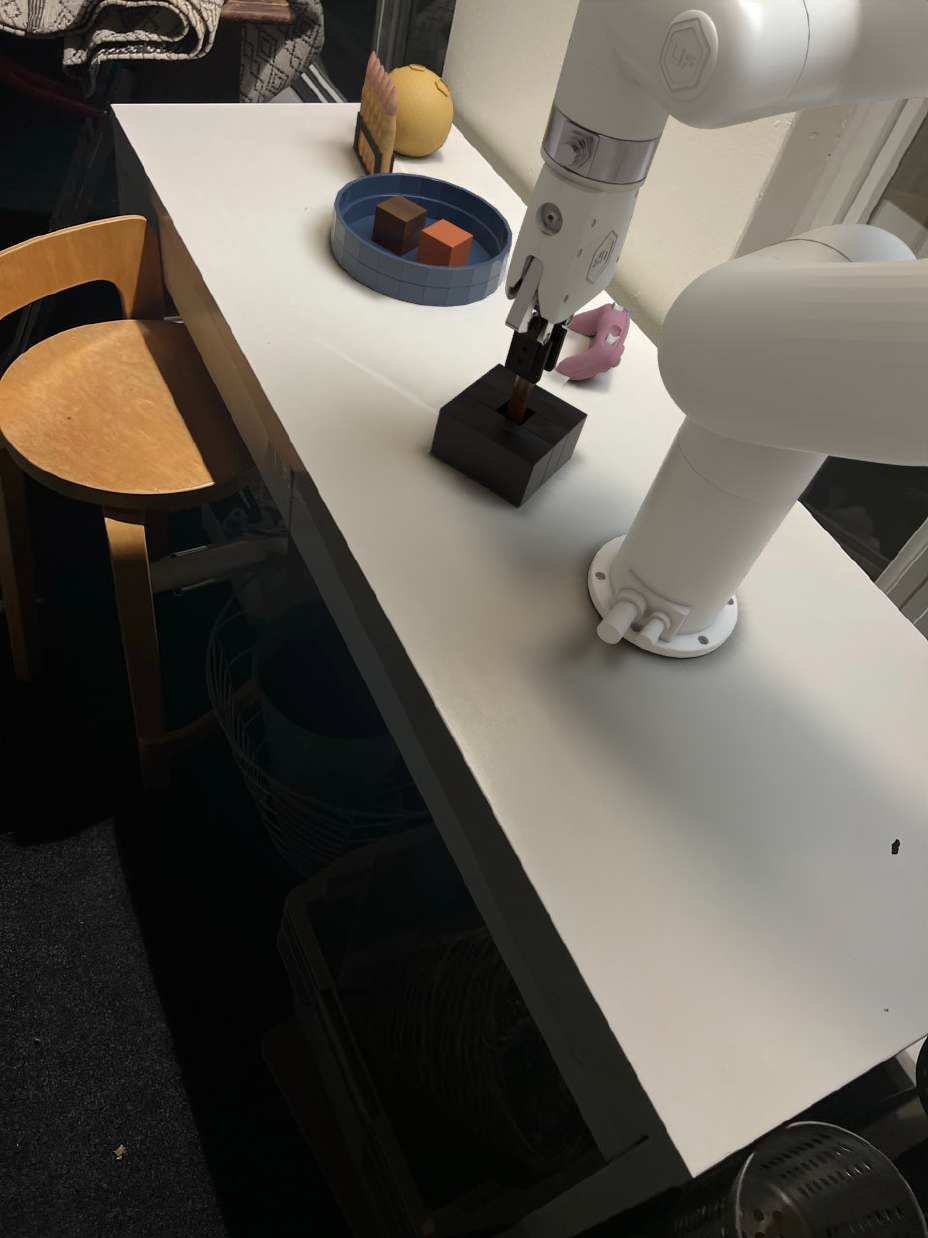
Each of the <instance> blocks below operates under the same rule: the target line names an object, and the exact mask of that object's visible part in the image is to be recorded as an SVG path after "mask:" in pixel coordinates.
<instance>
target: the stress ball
mask: <svg viewBox="0 0 928 1238" xmlns="http://www.w3.org/2000/svg"><path fill="white" fill-rule="evenodd" d="M387 74H388V78H389V79H391V80H392V84H393V87H394V86H395V87H396V90H397V113H396V134H395V141H394V148H393V151H394V153H397V154H399V155H402V156H404V157H410V158H420V157H421V158H422V157H425V156H428V155H430V154H432V153H434V152H436V151H439V150H440V149H441V148H442V147H443V146H444V144H445V143H446V142H447V140H448V136H449V134H450V132H451V129H452V126H453V122H454V105H453V100H452V97H451V90H450V86H449V85H448V84H447V82H445V80H443V78H442V77H439V76H438V75H437V74H436V73H435V72H433V71H432V70H430V69H428V68H426V67H425V66H424V65H421V64H415V63H413V64H409V65H407V66H402V67H399V68H398V67H396V68H395V69H392V70H391V71H389V72H387Z"/></svg>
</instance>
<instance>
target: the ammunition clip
mask: <svg viewBox="0 0 928 1238" xmlns="http://www.w3.org/2000/svg"><path fill="white" fill-rule="evenodd" d="M396 113H397V90H396V87H395V86H394V87H393V84H392V80H391V79H389V78H388V72H387V71H385V68H384V65H383V64H381V62H380V58H379V57H377V54H376V51H375V50H372V52H371V53H370V56H369V59H368V62H367V65H366V71H365V77H364V84H363V86H362V90H361V96H360V106H359V110H358V111H357V114H356V121H355V122H356V123H355V128H354V129H355V131H354V136H353V137H354V138H353V145H352V148H353V150H354V152H355V154H356V156H357V159H358V160H359V162H360V164H361V166H362V169H363V171H364V173H365V174H366V176H367V175H372V174H377V173H394V172H393V171H394V166H395V157H396V154H395V153H396V152H395V151H393V148H394V141H395V134H396Z"/></svg>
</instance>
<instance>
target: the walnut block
mask: <svg viewBox="0 0 928 1238" xmlns="http://www.w3.org/2000/svg"><path fill="white" fill-rule="evenodd" d="M426 217H427V210H426V209H424V208H422V207H420V206H418V205H417V204H415V203H413V202H411V201H409V200H408V199H406V198H404V197H402V196H400V195H396V196H394V197H392V198H390V199H388V200H386V201H384V202H382V203H380V204H378V205H376V210H375V218H374V225H373V232H372V241H374V242H375V243H377V244H379V245H381V246H383V247H384V248H386V249H388V250H390V251H391V252H393V253H395V254H397V255H398V256H402V255H404V254H406V253H408V252H410V251H411V250H413V249H415V248H417V247H418V246H419V243H420V237H421V232H422V230H423V229H424V228H425V222H426Z"/></svg>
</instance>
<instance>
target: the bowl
mask: <svg viewBox="0 0 928 1238" xmlns="http://www.w3.org/2000/svg"><path fill="white" fill-rule="evenodd" d="M396 195H400V196H402V197H404V198H406V199H408V200H409V201H411V202H413V203H415V204H417V205H418V206H420V207H422V208H424V209H426V210H427V217H426V222H425V228H427V227H429V226H431V225H433V224H435V223H436V222H438V221H440V220H442V219H444V220H446V221H448V222H449V223H451V224H453V225H455V226H457V227H459V228H460V229H462V230H464V231H466V232H468V233H470V234H471V235H473V238H472V242H471V247H470V251H469V256H468V260H467V265H466V266H459V267H445V266H433V265H426V264H421V263H417V262H416V260H417V254H418V248H419V246H418V247H417V248H415V249H413V250H411V251H410V252H408V253H406V254H404V255H402V256H398V255H397V254H395V253H393V252H391V251H390V250H388V249H386V248H384V247H383V246H381V245H379V244H377V243H375V242H374V241H372V232H373V225H374V218H375V210H376V205H378V204H380V203H382V202H384V201H386V200H388V199H390V198H392V197H394V196H396ZM331 220H332V221H331V231H330V245H331V251H332V254H333V256H334V258H335V259H336V261H337V263H338V264H339V265H340V267H341V268H342V269H343V270H344V271H346V272H347V273H348V274H349V275H350V276H351V277H352V278H353V279H355V280H356V281H358V282H360V283H361V284H363V285H364V286H365V287H368V288H370V289H372V290H373V291H375V292H377V293H380V294H382V295H385V296H387V297H390V298H392V299H396V300H399V301H402V302H403V301H404V302H408V303H413V304H418V305H422V306H425V305H426V306H437V307H438V306H439V307H452V306H463V305H465V306H466V305H469V304H471V303H475V302H478V301H481V300H485V298H487V297H489V296H490V295H491V294H493V293H495V292H496V291H497V290H498V288H499V287H500V285H501V283H502V281H503V279H504V276H505V272H506V268H507V264H508V261H509V257H510V254H511V250H512V246H513V231H512V229H511V227H510V226H511V225H510V224H509V221H508V220H507V219H506V217H505V216H504V215H503V213H501V211H500V210H499V209H498V208H497V207H495V206H494V205H493V204H492V203H490V202H489V201H488V200H486V199H485V198H484V197H482V196H480V195H479V194H476V193H475V192H473V191H471V190H469V189H467V188H465V187H462V186H460V185H457V184H455V183H452V182H449V181H447V180H443V179H440V178H436V177H432V176H427V175H423V174H416V173H408V172H393V173H377V174H372V175H367V174H366V175H363V176H360V177H357V178H355V179H353V180H351V181H349V182H347V183H345V184H344V185H343V186H342V187H341V188H340V189H339V190H338V191H337V193H336V196H335V199H334V202H333V210H332V219H331ZM425 228H424V229H425Z"/></svg>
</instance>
